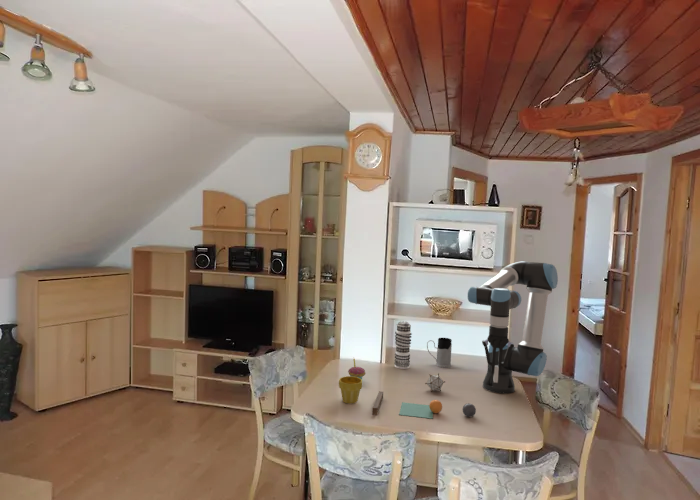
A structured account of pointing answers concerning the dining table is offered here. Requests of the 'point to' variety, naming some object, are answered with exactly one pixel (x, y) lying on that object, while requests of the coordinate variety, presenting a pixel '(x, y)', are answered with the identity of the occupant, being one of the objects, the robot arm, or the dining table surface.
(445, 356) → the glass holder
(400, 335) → the decorative candle
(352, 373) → the cupcake
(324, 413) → the dining table surface
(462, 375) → the dining table surface
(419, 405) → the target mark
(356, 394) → the plant pot
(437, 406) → the orange ball
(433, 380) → the grey spiky polyhedron
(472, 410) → the dark grey ball
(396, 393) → the dining table surface
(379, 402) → the walnut stopper
